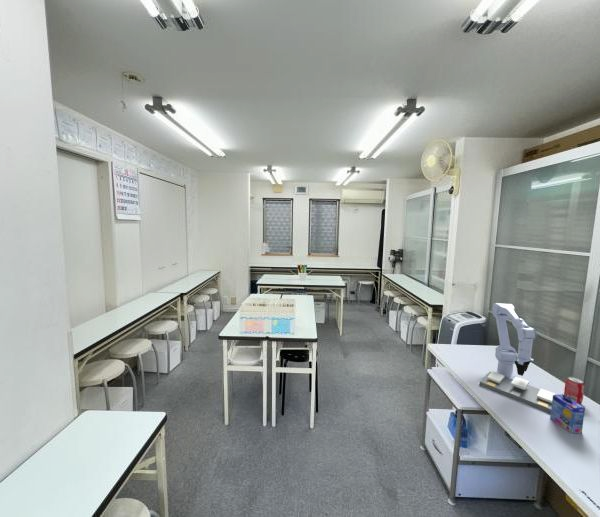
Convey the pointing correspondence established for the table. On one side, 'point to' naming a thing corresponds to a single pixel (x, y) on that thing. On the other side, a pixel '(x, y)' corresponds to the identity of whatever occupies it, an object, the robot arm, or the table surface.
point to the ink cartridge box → (567, 413)
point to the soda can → (574, 389)
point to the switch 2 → (520, 383)
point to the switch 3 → (545, 395)
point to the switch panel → (517, 392)
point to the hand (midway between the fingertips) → (522, 372)
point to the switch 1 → (496, 377)
